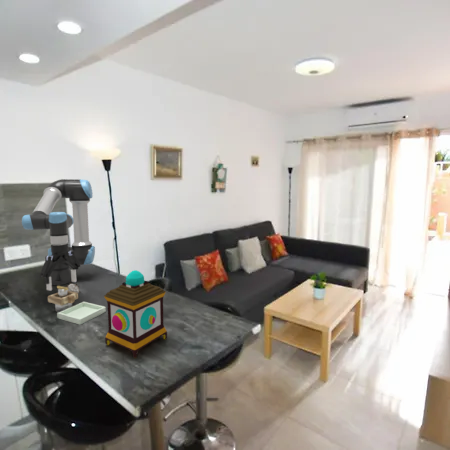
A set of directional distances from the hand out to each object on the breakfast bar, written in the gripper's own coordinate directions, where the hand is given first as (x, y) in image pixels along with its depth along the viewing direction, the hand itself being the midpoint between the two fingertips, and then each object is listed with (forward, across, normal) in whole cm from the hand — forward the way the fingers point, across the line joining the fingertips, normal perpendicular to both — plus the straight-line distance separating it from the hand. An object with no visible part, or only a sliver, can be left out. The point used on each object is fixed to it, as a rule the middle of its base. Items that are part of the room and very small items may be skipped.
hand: (62, 285), depth 147 cm
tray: (+12, +1, +14) cm, 18 cm away
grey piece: (+12, 0, 0) cm, 12 cm away
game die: (+12, -12, -9) cm, 20 cm away
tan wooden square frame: (+8, 0, 0) cm, 8 cm away
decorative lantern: (+13, +9, +54) cm, 56 cm away
